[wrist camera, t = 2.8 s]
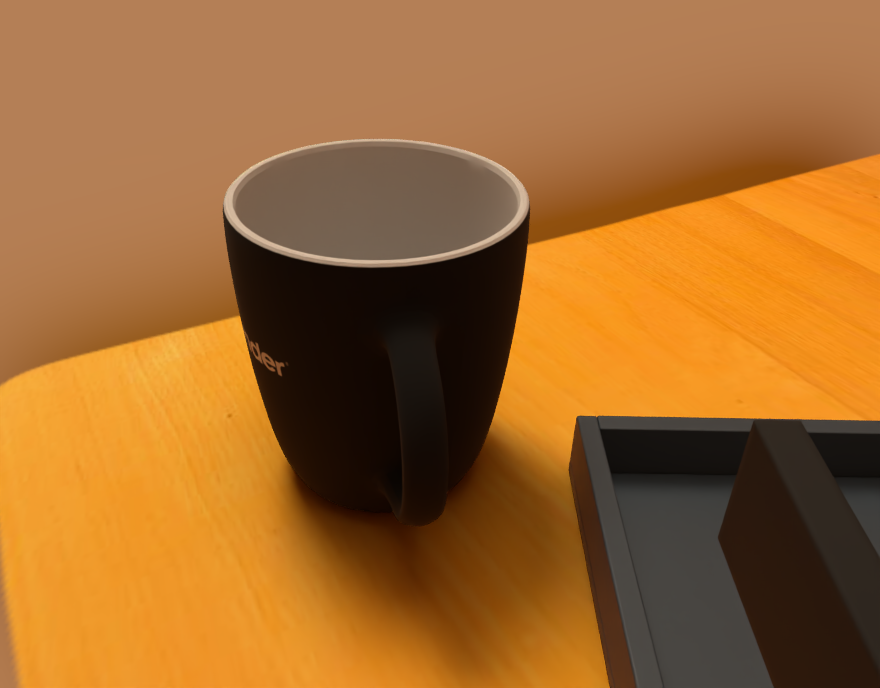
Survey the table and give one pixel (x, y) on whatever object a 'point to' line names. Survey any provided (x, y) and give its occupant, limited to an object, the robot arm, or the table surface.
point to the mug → (379, 311)
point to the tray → (685, 540)
